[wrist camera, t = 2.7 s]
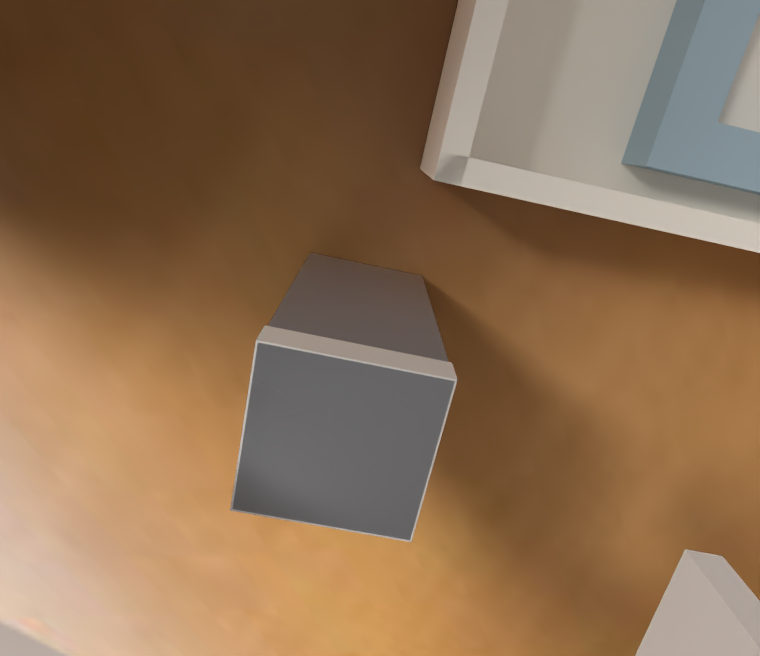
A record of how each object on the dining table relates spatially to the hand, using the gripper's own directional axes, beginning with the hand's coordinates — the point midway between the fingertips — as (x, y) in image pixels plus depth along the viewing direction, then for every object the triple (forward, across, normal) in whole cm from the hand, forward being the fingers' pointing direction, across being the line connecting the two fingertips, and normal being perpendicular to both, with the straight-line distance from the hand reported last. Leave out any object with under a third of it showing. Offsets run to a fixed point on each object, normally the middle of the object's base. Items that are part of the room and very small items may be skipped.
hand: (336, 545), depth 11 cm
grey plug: (+13, 0, 0) cm, 13 cm away
